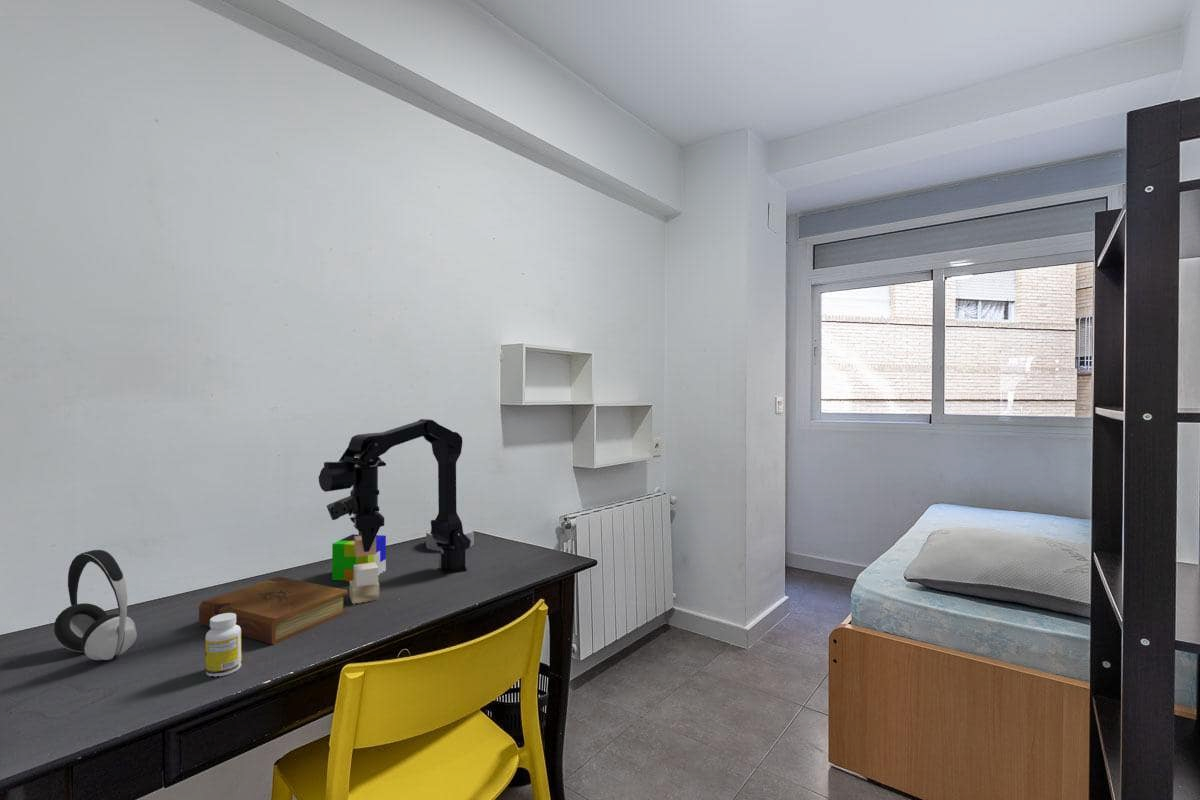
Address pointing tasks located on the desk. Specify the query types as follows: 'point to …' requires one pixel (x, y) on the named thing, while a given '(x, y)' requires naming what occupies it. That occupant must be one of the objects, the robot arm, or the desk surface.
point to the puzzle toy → (347, 558)
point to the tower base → (363, 593)
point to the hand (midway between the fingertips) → (365, 549)
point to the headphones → (96, 613)
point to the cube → (360, 550)
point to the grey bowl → (433, 546)
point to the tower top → (365, 574)
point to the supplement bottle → (223, 645)
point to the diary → (276, 608)
